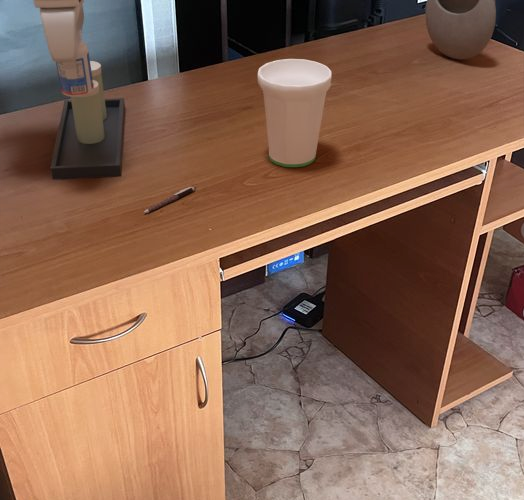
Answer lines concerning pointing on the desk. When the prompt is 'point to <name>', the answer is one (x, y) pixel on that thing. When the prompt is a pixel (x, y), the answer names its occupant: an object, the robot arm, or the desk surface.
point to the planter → (460, 26)
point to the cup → (293, 108)
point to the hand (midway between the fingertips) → (73, 69)
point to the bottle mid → (88, 117)
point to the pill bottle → (84, 79)
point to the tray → (89, 146)
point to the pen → (171, 199)
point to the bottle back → (98, 77)
